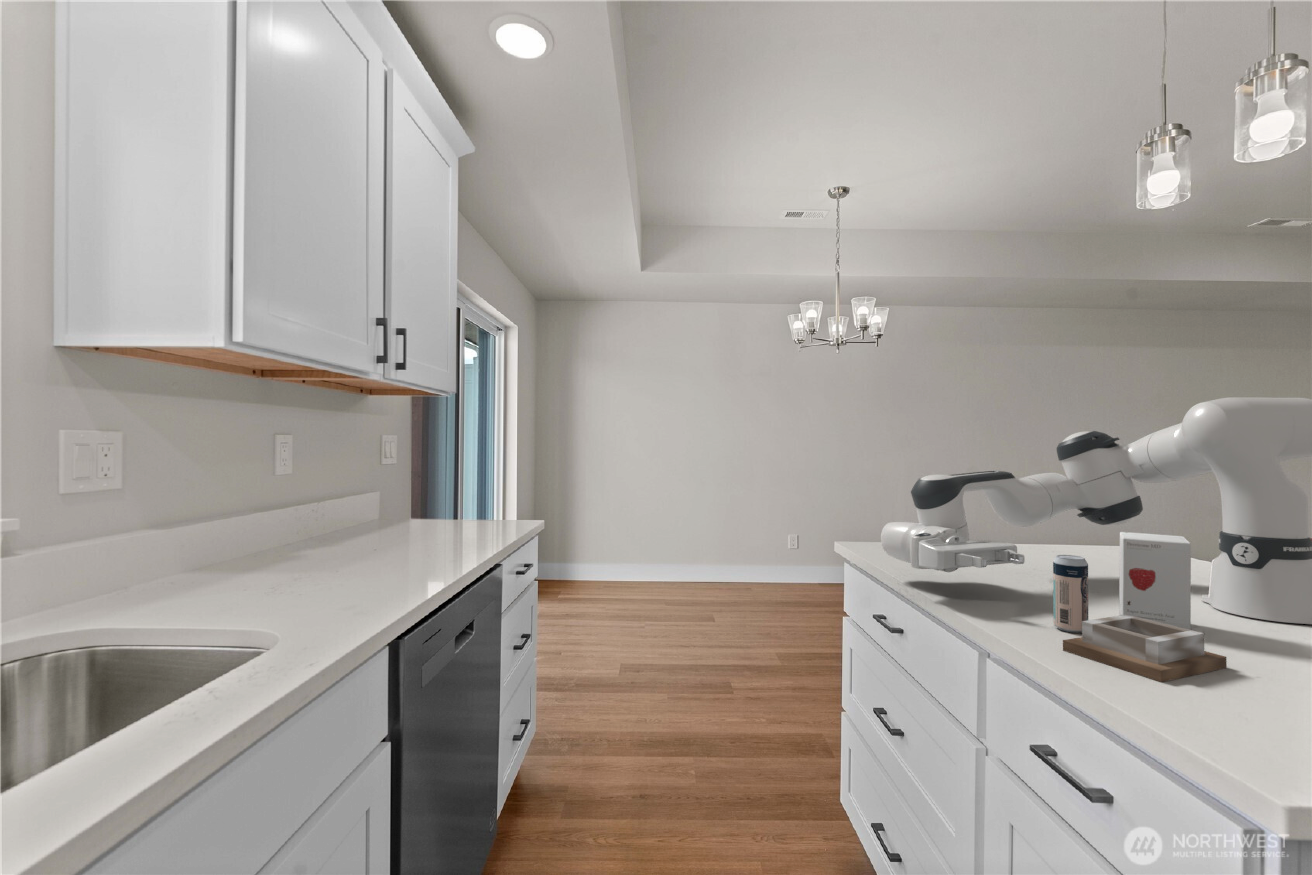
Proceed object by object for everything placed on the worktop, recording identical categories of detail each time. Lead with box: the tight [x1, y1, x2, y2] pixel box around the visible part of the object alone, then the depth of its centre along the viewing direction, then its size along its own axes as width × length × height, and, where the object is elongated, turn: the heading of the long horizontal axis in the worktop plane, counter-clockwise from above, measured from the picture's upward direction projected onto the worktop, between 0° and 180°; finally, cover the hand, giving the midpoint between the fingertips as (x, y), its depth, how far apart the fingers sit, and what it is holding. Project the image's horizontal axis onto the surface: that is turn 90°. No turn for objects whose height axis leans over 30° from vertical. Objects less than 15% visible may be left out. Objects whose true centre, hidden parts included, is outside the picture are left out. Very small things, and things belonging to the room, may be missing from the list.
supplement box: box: [1118, 531, 1192, 630], centre depth 104 cm, size 9×9×15 cm
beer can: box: [1052, 554, 1089, 634], centre depth 101 cm, size 5×5×12 cm
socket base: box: [1062, 614, 1228, 683], centre depth 88 cm, size 14×13×4 cm
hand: (1003, 561), depth 113 cm, fingers open, 8 cm apart
